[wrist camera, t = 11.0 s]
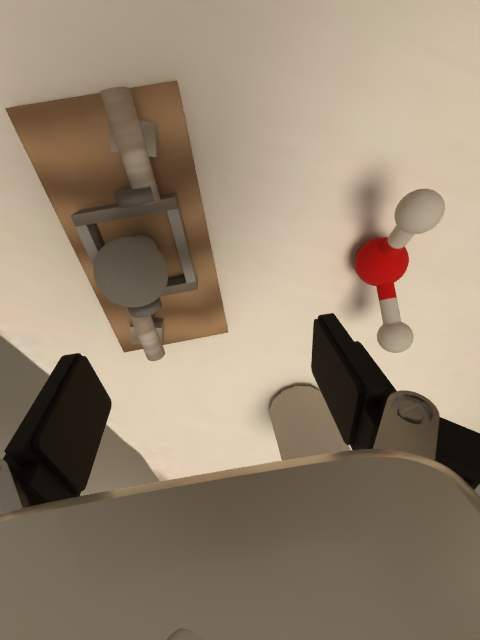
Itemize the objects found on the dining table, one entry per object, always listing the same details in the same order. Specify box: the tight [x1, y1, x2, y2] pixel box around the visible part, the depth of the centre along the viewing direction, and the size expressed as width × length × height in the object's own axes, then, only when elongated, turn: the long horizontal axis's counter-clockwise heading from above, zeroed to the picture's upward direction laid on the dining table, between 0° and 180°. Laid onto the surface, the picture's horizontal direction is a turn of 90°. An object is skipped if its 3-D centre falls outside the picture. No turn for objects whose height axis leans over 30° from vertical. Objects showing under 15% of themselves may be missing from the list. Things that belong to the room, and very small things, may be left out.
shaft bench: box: [5, 81, 228, 361], centre depth 29 cm, size 26×14×5 cm, turn 8°
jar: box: [269, 386, 351, 461], centre depth 41 cm, size 10×10×18 cm
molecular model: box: [355, 189, 445, 353], centre depth 31 cm, size 18×6×10 cm, turn 16°
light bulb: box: [93, 235, 168, 308], centre depth 26 cm, size 6×6×10 cm
